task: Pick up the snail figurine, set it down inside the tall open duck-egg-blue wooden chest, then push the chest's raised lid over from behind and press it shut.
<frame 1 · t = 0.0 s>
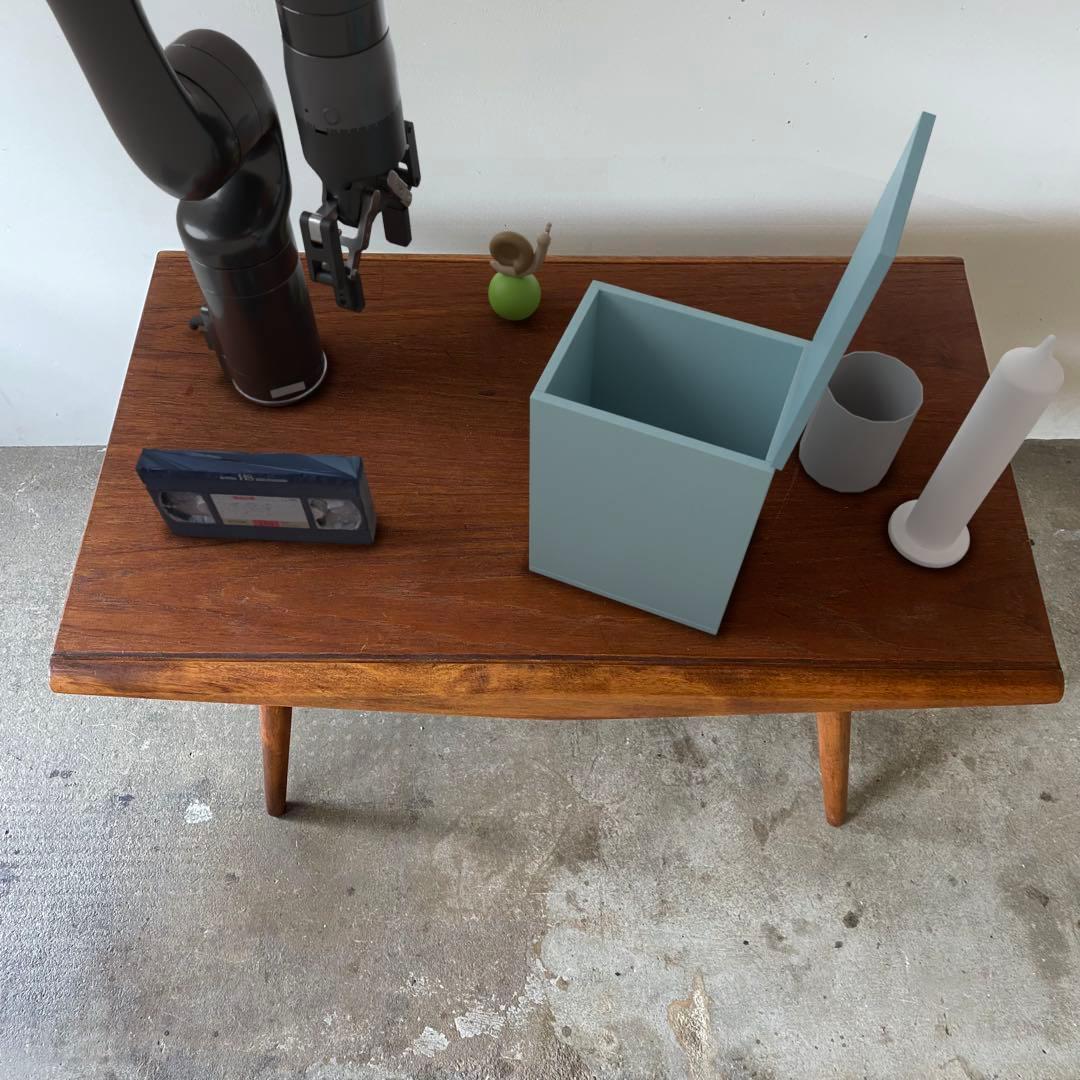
hand: (376, 274, 80), 17 cm above the table, tool pointing down, fingers open, 8 cm apart
candle: (926, 536, 87), on the table
vhs cassette tape: (276, 530, 87), on the table
lid: (846, 304, 57), point 32 cm above the table, hinge at 95.0°
cup: (842, 458, 92), on the table
snail figurine: (519, 315, 102), on the table
chest: (643, 545, 86), on the table
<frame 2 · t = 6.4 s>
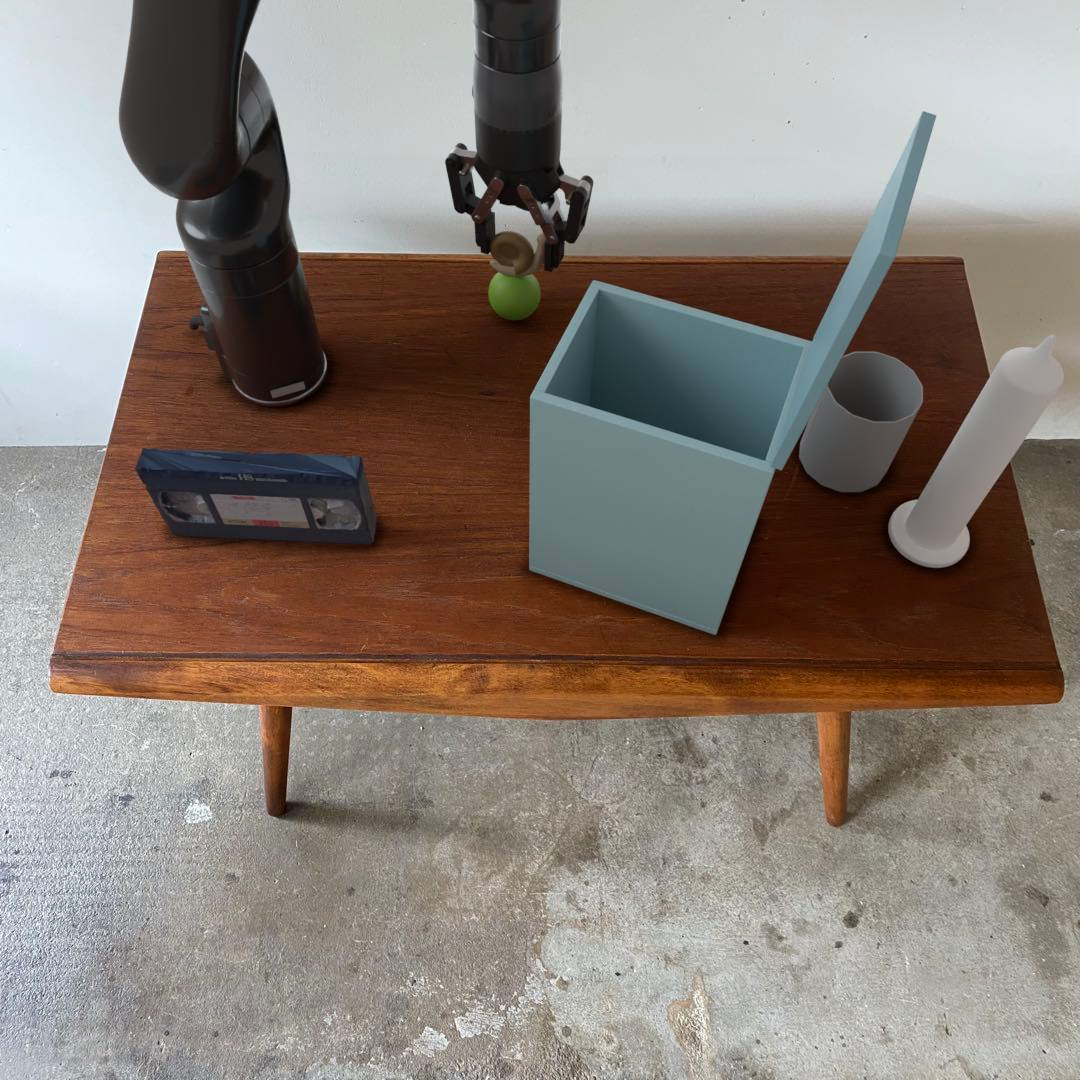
hand: (519, 257, 96), 8 cm above the table, tool pointing down, fingers closed on snail figurine, 6 cm apart
snail figurine: (519, 315, 102), on the table, touching gripper
everything else where it was.
when the fingers open (8 cm above the table, at t = 18.2 s): snail figurine stays where it is, resting on chest.
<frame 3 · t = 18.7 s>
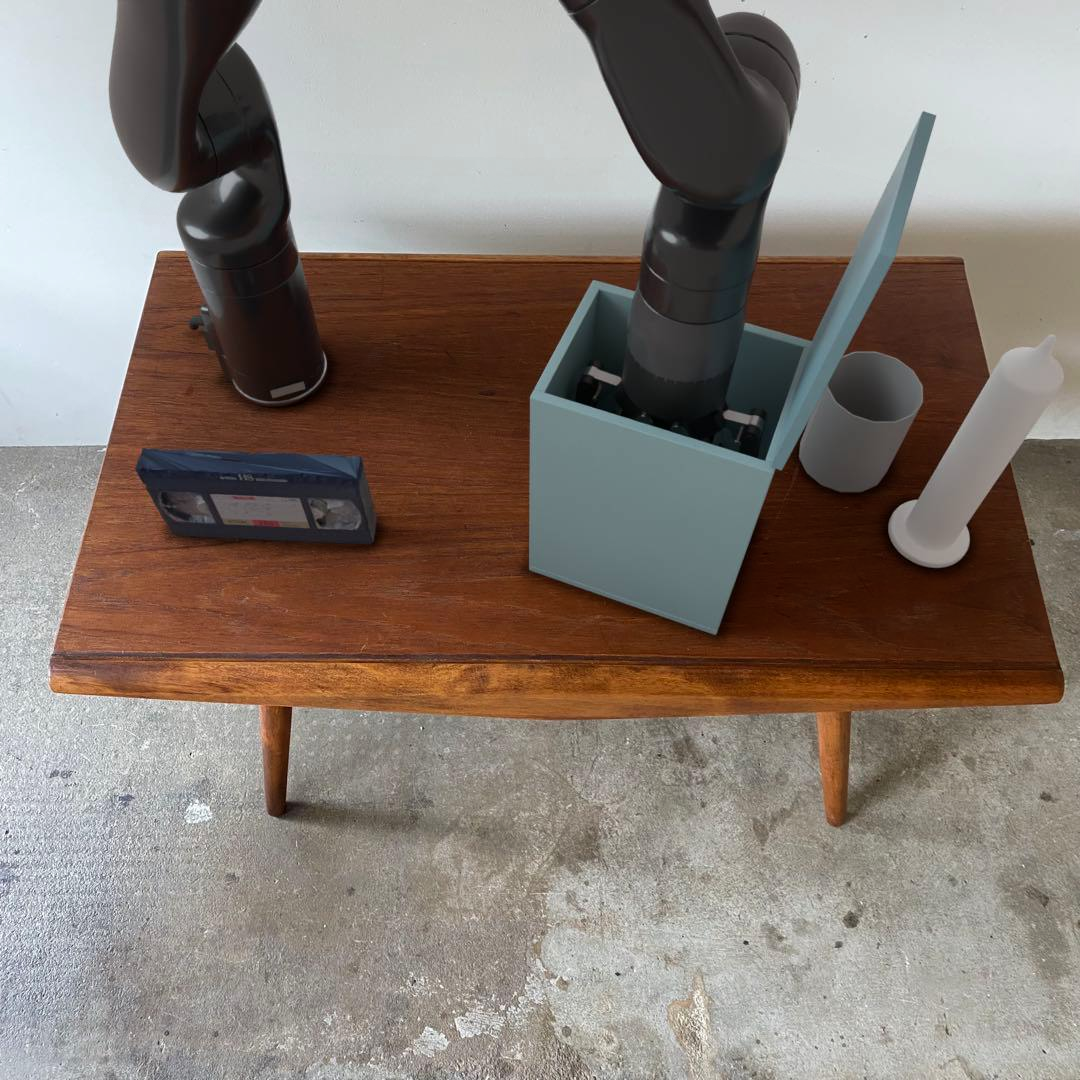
hand: (655, 480, 78), 10 cm above the table, tool pointing down, fingers open, 8 cm apart
snail figurine: (642, 541, 86), point 1 cm above the table, touching chest
everything else where it was.
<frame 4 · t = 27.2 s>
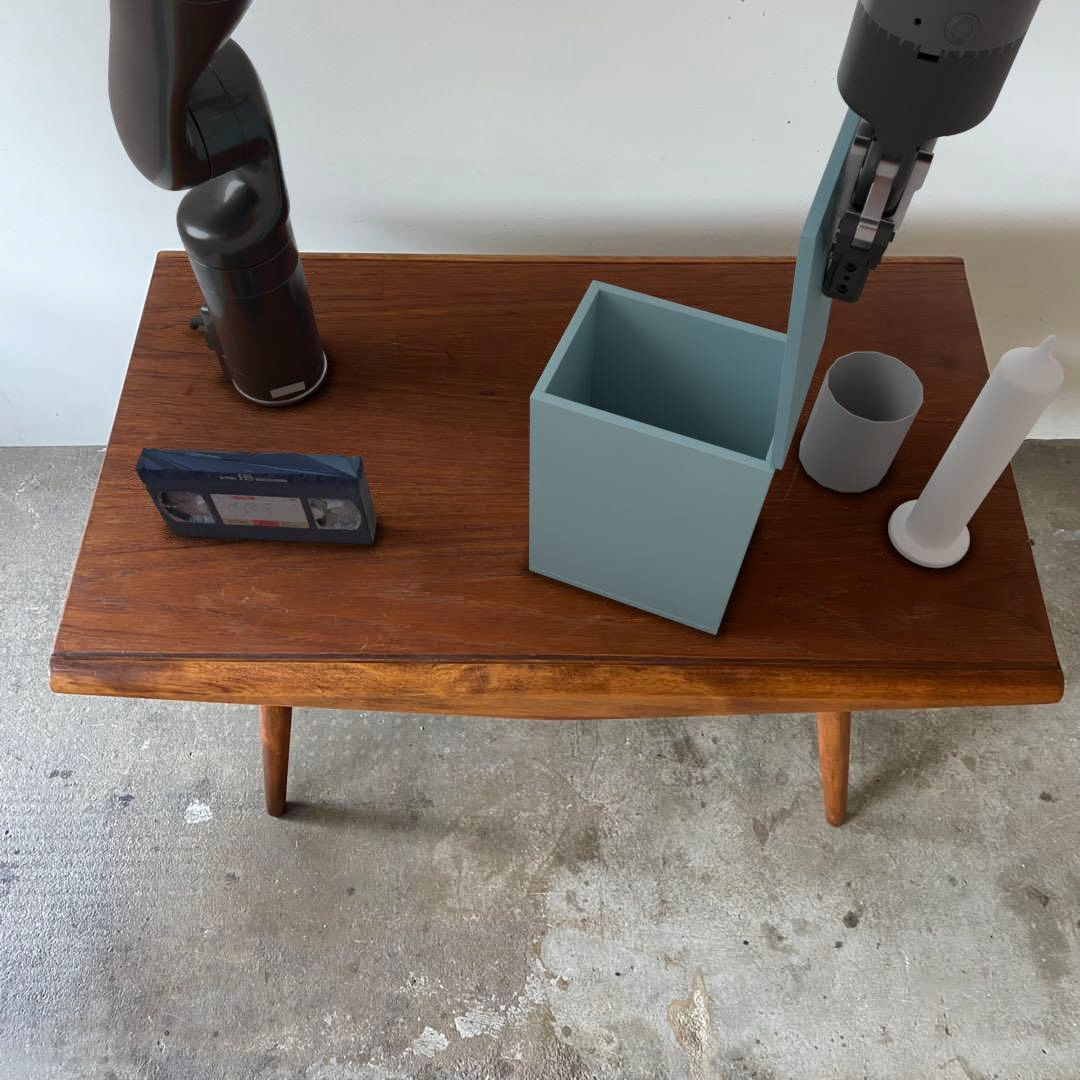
hand: (840, 292, 57), 33 cm above the table, tool pointing down, fingers closed
lid: (814, 296, 58), point 32 cm above the table, hinge at 82.5°, touching gripper
everything else where it was.
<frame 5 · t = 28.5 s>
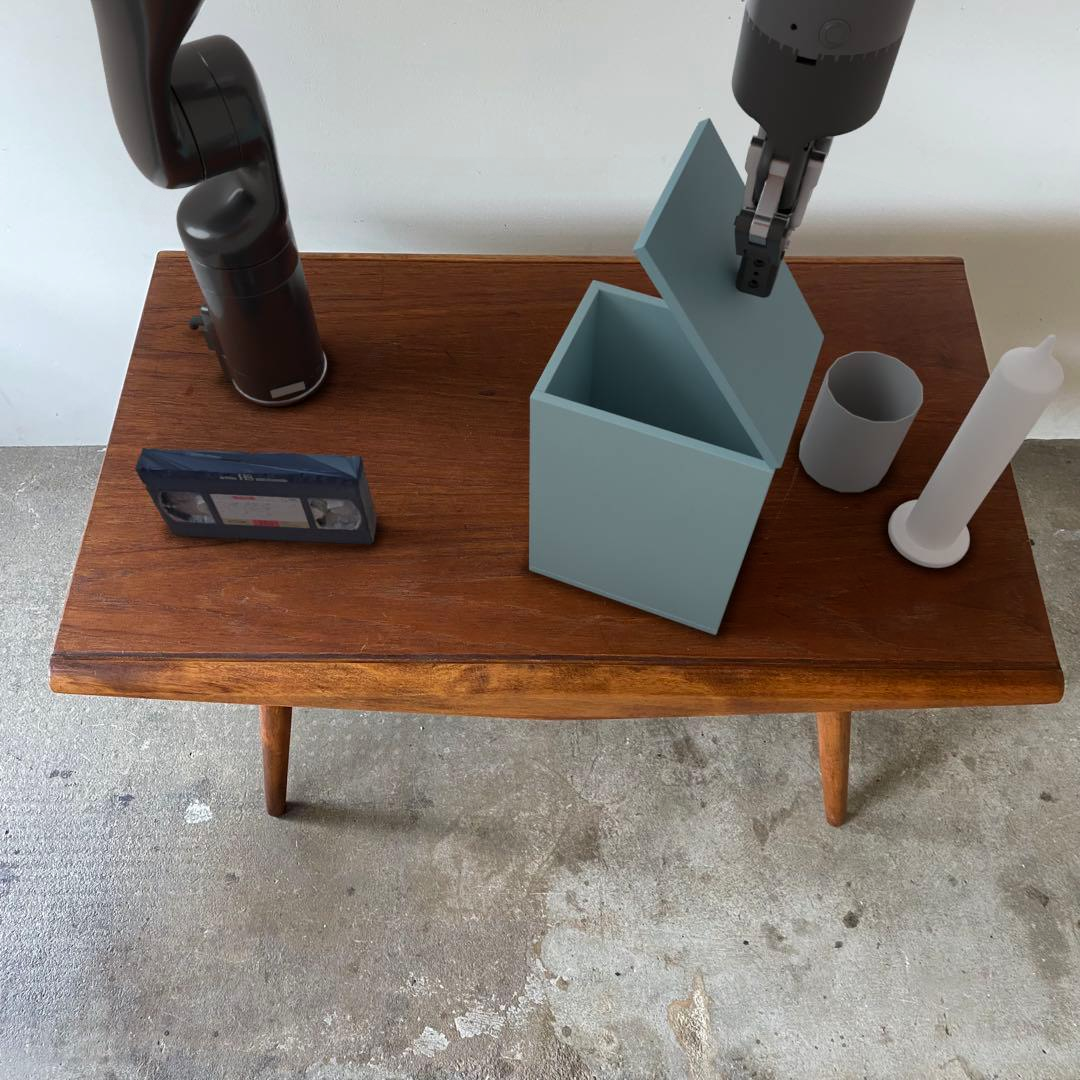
hand: (754, 287, 59), 31 cm above the table, tool pointing down, fingers closed
lid: (740, 299, 60), point 30 cm above the table, hinge at 52.8°, touching gripper
everything else where it was.
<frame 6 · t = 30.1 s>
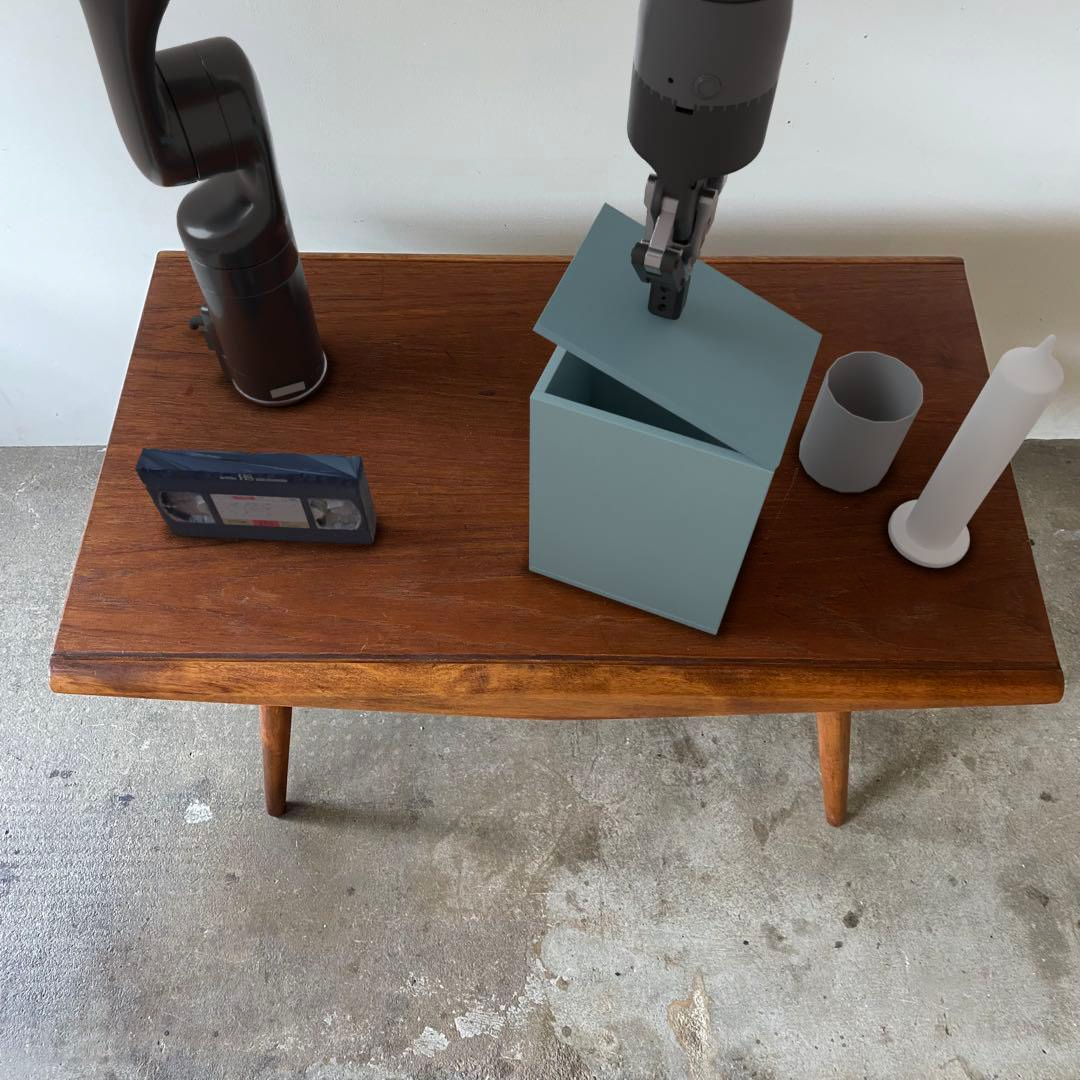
hand: (666, 310, 63), 28 cm above the table, tool pointing down, fingers closed
lid: (686, 332, 64), point 26 cm above the table, hinge at 20.2°
everything else where it was.
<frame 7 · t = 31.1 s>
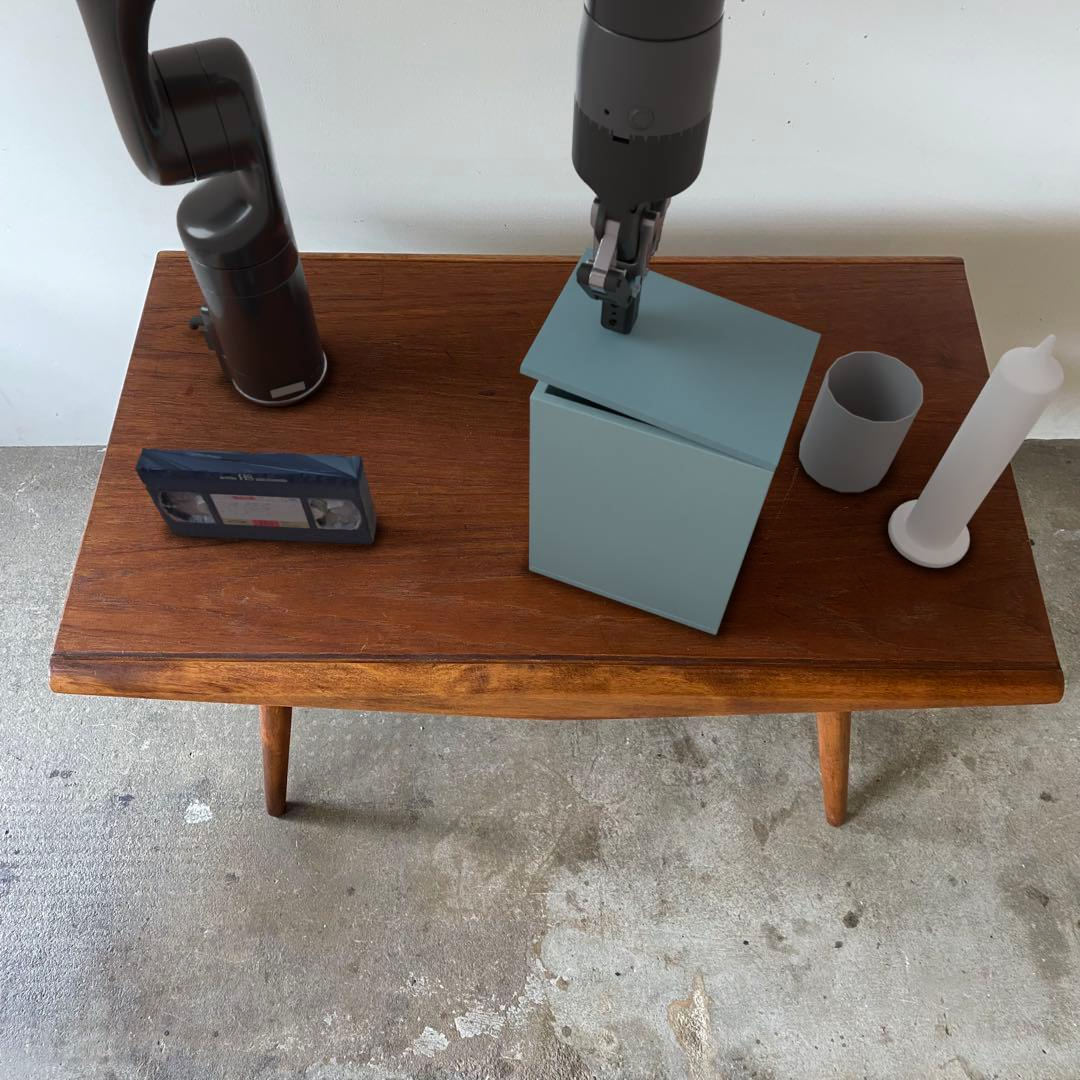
hand: (618, 324, 66), 25 cm above the table, tool pointing down, fingers closed
lid: (675, 353, 66), point 24 cm above the table, hinge at 6.4°
everything else where it was.
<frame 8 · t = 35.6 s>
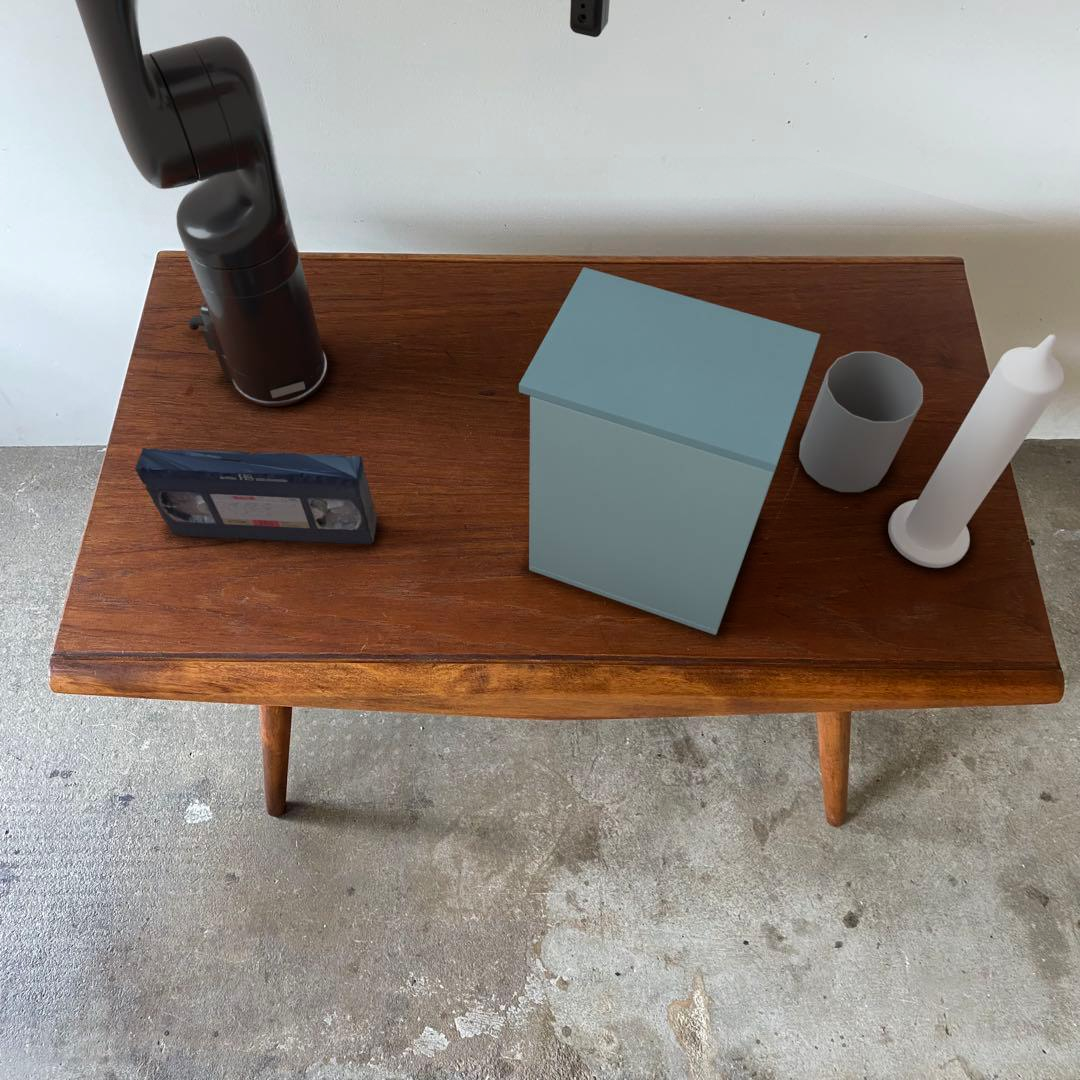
hand: (588, 29, 65), 37 cm above the table, tool pointing down, fingers closed
lid: (672, 362, 67), point 23 cm above the table, hinge at 0.2°
everything else where it was.
at the end: lid at +0° (first picture: +95°); snail figurine inside the target area in the chest (0.1 cm from its centre), point 0.6 cm above the chest's base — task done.
